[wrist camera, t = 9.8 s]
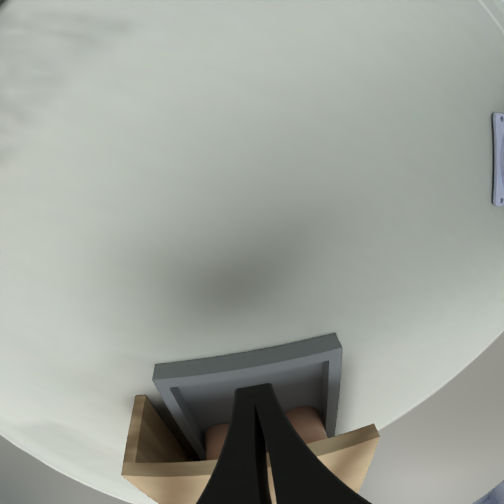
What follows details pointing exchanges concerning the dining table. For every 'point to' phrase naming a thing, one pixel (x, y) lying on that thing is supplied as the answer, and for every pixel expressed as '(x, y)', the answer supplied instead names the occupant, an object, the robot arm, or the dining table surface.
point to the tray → (251, 384)
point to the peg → (215, 440)
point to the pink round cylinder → (307, 424)
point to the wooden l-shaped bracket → (199, 472)
